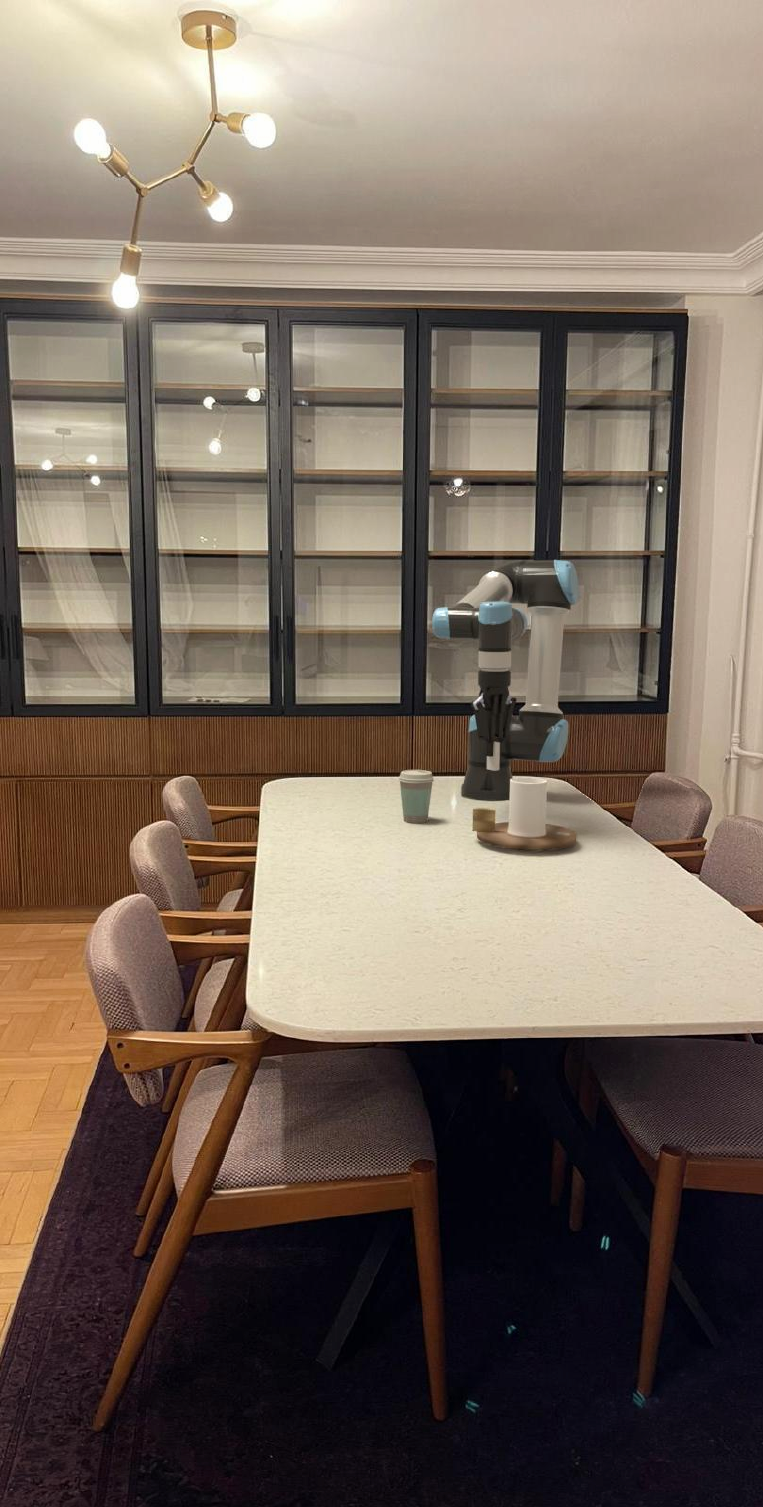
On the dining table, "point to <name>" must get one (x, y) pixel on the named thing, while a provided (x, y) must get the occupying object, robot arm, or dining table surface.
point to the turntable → (499, 837)
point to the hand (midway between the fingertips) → (492, 769)
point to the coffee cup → (416, 794)
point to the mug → (527, 807)
